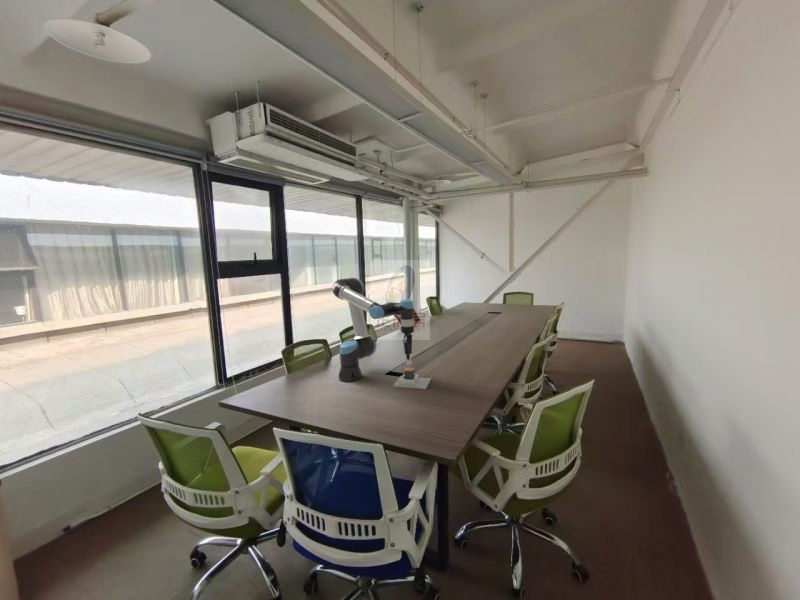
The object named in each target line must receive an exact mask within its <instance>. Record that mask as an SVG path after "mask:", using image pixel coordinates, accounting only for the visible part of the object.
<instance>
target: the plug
mask: <svg viewBox="0 0 800 600" xmlns="http://www.w3.org/2000/svg"><path fill="white" fill-rule="evenodd" d="M403 372H404V373H403V374H404V376H405V379H413V378H414V374H415V368H414V367H405V368H404V371H403Z"/></svg>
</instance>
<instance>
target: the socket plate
mask: <svg viewBox="0 0 800 600" xmlns="http://www.w3.org/2000/svg"><path fill="white" fill-rule="evenodd" d="M431 382H432V378H431V377H419V374H417V373H414V378H413V379H405V376H404V373H403V374H402V375H400V376H399V377H398V378H397V380H396V381H395V382H394V383H393V384H392V388H403V389H416V390H427V388H428V387H429V385H430V383H431Z"/></svg>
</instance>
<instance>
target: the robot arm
mask: <svg viewBox="0 0 800 600" xmlns="http://www.w3.org/2000/svg"><path fill="white" fill-rule="evenodd" d="M331 289H332V293H333V295H334V296H335V297H336V298H338V300H342V301H343V300H345V302H348V303H347V304H348V307H349V311H350V313H349V314H350V319H351V323H352V327H353V332H354V338H353V340H346V341H344V342H342V343H341V344H340V346H339V360H340V368H339V373H338V380H339V381H340V382H344V383H350V382H356V381H359V380H361V379H362V378H363V373H362V369H361V367H360V360H361V359H364V358H367V357H370V356H372V355H374V354H375V352H376V350H377V343H376V341H375V340H374V339H373V338H372V336H371V335H370V334H369V333H368V327H367V324H366V320H365V319H366V318H365V314H364V312H367V313H369V314H368V315H369V316H370V317H371V319H373V320H376V319H377V320H380V319H384V318H388V317H391V316H400V325H401V327H400V331H401V333H402V334H404V335H403V340H402V342H403V350H404V353H403V354H404V355H405V364H406V365H410V366H411V365H412V354H413V347H412V346H413V335H412V333H414V332H415V328H414V327H415V326H414V322H415V320H414V303H413V300H412V299H401V300H400V301H399V302H392V301H390V302H386V303H384V304H381V303H378V302H376V301H374V300H372V299H370V298H368V297H366V296H364V295H363V293H364V291H365V286H364V282H363V281H362V280H361V279H359V278H357V277H353V278H352V277H348V278H340V279H337V280H335V281H334V283H333V284H332V287H331Z"/></svg>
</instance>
